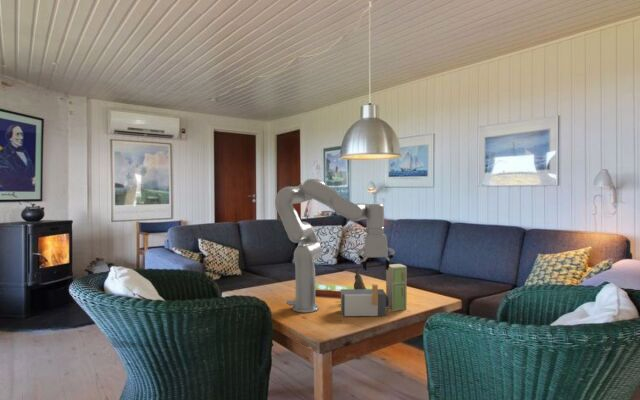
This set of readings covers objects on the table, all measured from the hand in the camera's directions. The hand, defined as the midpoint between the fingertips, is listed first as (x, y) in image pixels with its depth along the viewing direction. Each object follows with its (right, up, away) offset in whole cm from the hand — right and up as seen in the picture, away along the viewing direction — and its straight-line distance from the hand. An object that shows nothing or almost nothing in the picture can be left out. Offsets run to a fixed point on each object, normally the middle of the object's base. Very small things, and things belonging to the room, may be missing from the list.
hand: (376, 269), depth 179 cm
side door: (-6, -21, +1) cm, 22 cm away
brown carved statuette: (-3, -21, +25) cm, 33 cm away
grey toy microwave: (-5, -22, +8) cm, 24 cm away
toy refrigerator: (+12, -22, +15) cm, 29 cm away
